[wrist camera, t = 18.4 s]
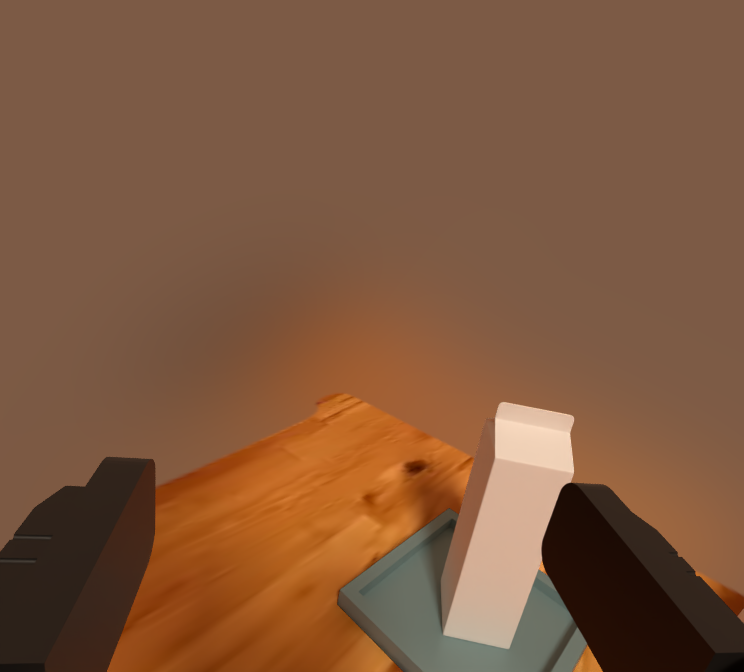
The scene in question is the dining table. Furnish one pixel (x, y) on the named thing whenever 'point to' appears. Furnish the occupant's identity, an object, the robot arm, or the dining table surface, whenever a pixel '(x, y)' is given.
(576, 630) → the tray
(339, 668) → the dining table surface
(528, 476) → the milk
